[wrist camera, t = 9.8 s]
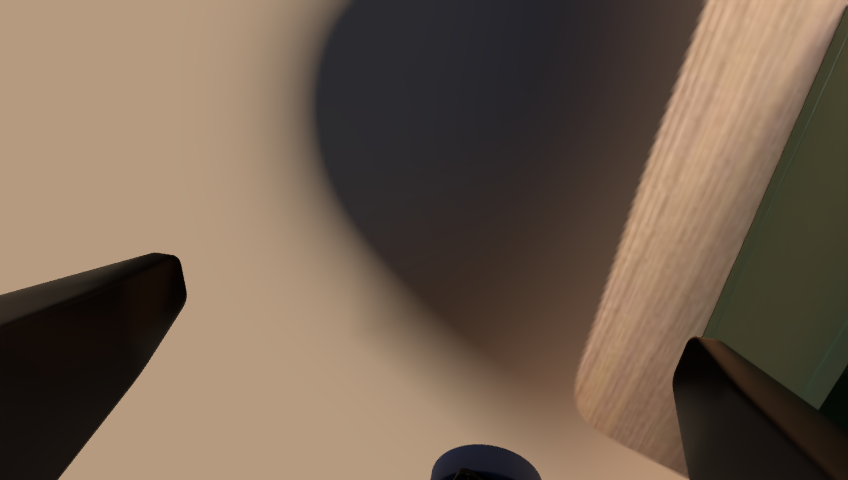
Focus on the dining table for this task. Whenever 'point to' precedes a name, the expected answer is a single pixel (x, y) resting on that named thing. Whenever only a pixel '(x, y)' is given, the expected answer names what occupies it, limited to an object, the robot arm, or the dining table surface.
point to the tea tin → (800, 255)
